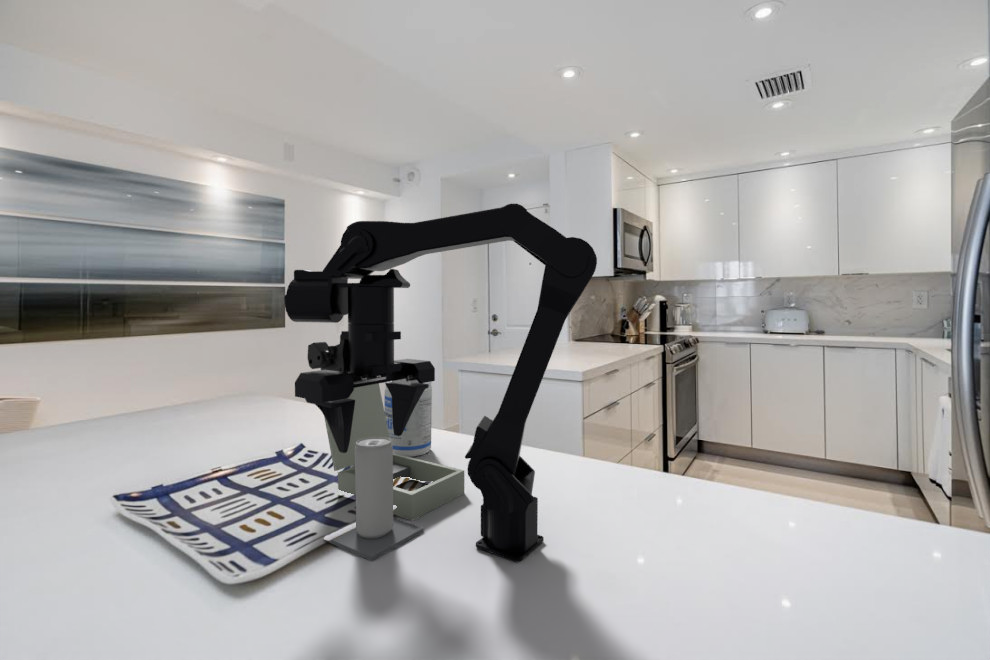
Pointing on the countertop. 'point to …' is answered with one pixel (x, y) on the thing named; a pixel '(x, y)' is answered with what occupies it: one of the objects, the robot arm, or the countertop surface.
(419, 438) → the supplement tub
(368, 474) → the beverage can
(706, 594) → the countertop surface
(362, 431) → the lid
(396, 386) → the robot arm
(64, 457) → the countertop surface
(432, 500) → the case
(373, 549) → the pad
